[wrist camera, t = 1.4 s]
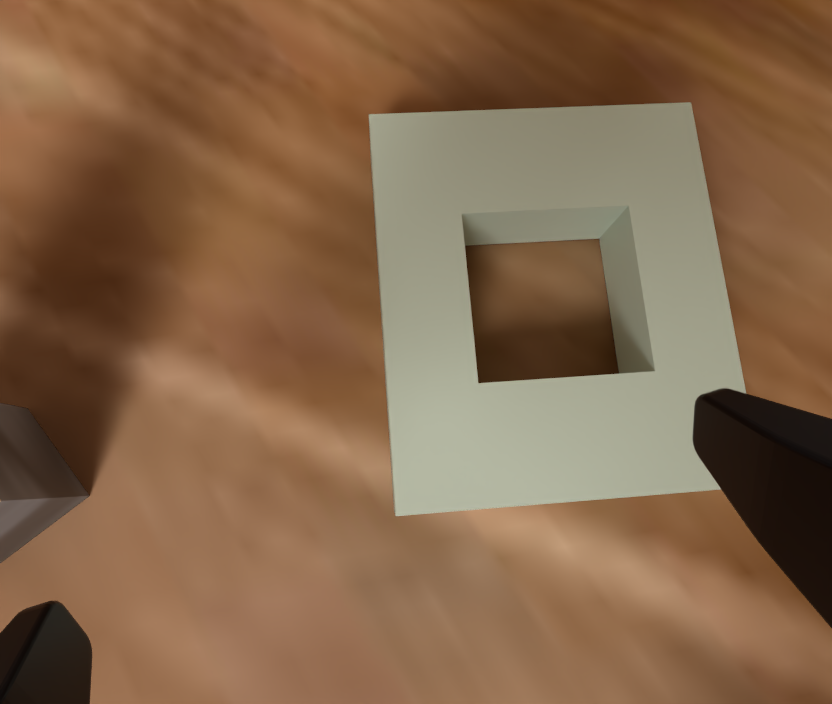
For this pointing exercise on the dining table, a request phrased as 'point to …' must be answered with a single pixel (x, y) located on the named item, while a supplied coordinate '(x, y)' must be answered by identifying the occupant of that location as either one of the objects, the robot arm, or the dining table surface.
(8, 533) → the rectangular block
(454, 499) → the slotted base
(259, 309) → the dining table surface
